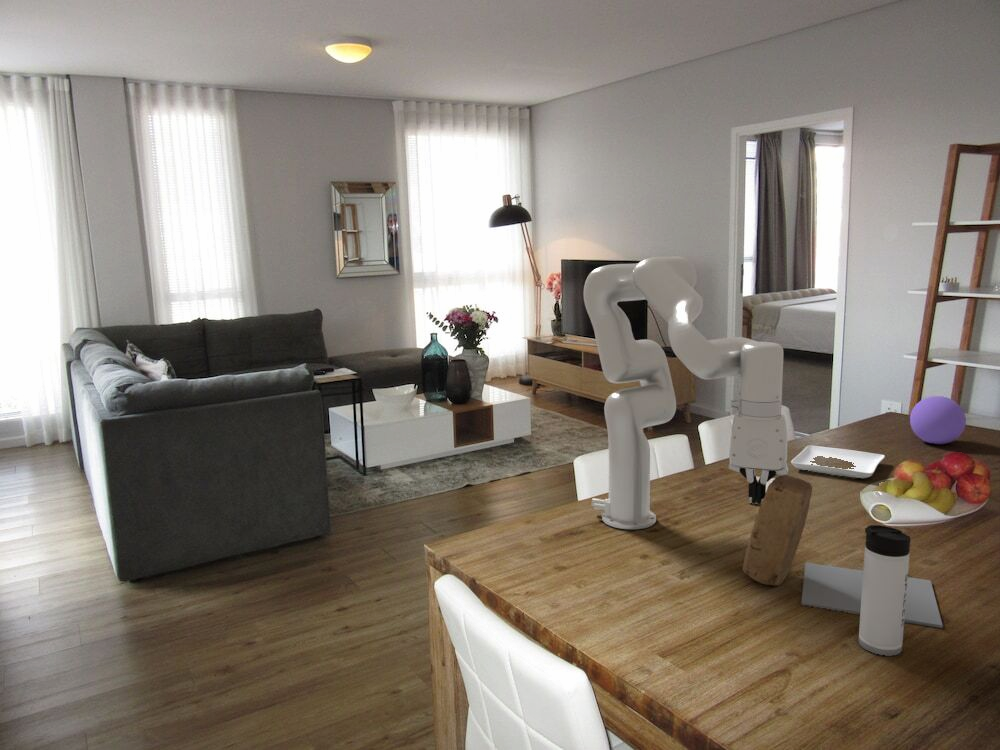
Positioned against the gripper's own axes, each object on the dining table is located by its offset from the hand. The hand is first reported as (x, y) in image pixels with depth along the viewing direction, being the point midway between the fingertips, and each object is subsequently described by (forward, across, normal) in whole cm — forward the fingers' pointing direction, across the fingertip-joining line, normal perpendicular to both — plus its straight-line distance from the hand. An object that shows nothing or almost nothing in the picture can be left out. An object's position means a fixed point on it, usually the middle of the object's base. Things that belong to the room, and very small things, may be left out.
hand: (756, 501), depth 142 cm
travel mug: (+16, +21, -19) cm, 32 cm away
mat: (+15, +20, 0) cm, 25 cm away
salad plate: (+16, +14, +80) cm, 83 cm away
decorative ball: (+15, +42, +118) cm, 126 cm away
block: (+15, +2, 0) cm, 15 cm away
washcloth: (+16, 0, +50) cm, 53 cm away
